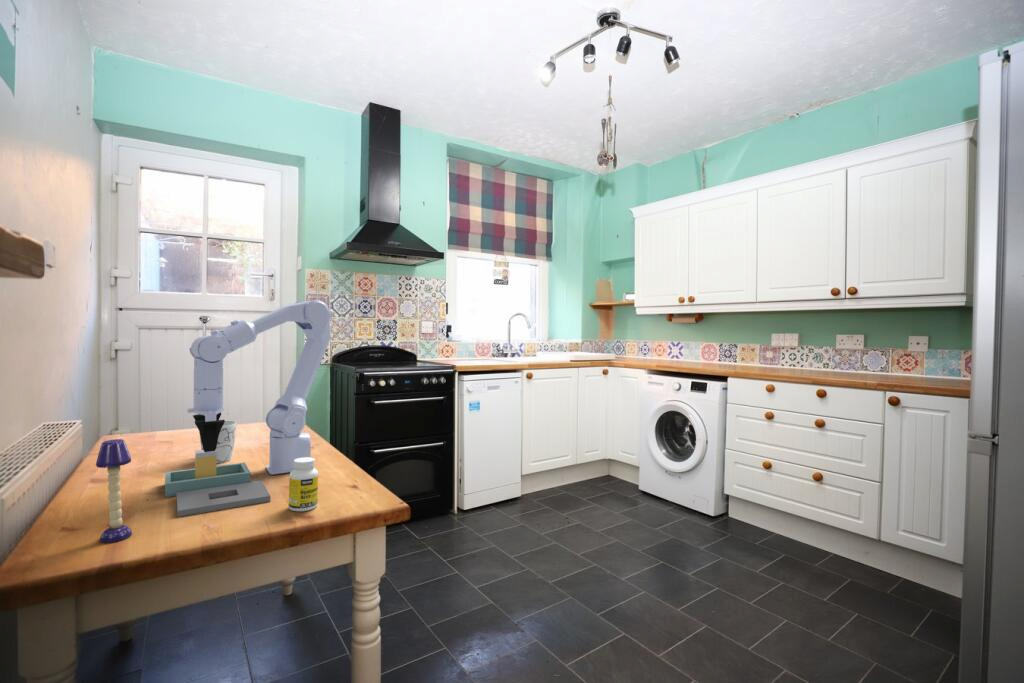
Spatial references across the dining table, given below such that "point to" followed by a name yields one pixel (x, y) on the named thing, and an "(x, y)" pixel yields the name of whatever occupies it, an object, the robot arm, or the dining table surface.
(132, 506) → the dining table surface
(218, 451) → the mug
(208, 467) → the block
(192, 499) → the socket block
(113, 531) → the toy lamp
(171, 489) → the parts tray
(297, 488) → the supplement bottle
